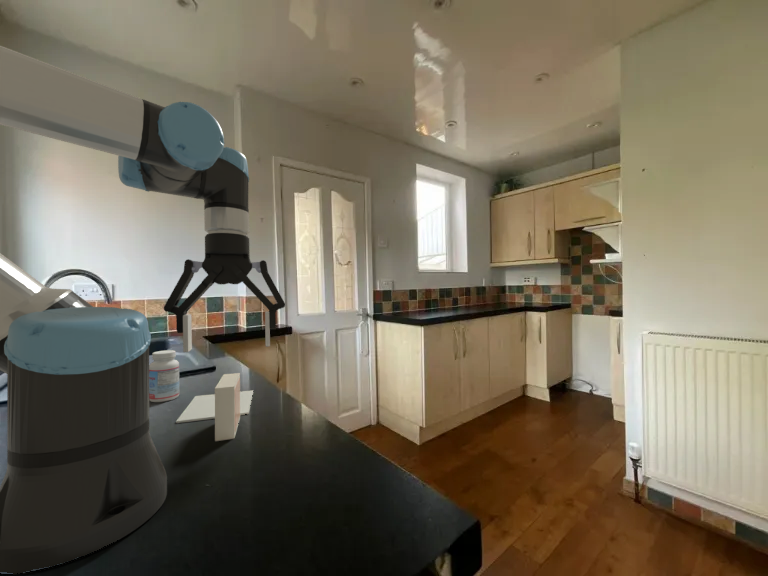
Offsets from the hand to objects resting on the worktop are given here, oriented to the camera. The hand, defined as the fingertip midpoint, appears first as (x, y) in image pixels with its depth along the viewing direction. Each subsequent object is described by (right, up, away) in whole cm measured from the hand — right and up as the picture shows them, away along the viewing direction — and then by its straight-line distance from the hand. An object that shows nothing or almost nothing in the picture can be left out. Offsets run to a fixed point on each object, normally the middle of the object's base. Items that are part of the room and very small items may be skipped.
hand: (229, 348), depth 60 cm
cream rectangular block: (0, -15, 0) cm, 15 cm away
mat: (-8, -15, +12) cm, 21 cm away
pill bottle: (-24, -16, +17) cm, 33 cm away
